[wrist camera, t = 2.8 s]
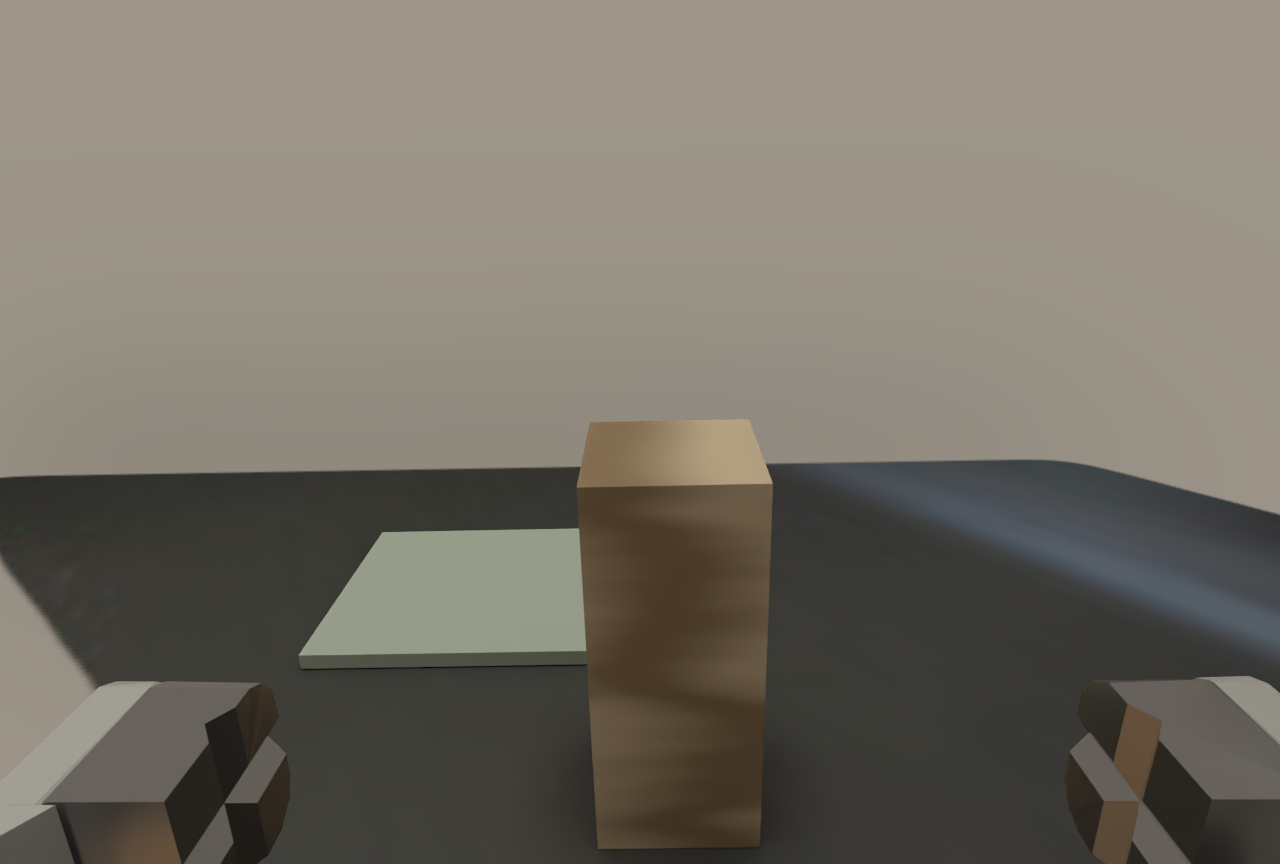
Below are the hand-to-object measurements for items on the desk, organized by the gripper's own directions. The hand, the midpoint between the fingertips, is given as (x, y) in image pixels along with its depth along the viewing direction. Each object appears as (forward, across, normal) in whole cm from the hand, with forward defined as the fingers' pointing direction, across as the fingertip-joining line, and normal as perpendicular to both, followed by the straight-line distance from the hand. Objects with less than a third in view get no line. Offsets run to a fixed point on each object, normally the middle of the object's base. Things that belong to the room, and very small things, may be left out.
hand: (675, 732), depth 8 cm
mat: (+24, +6, +13) cm, 27 cm away
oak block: (+12, 0, +13) cm, 18 cm away
